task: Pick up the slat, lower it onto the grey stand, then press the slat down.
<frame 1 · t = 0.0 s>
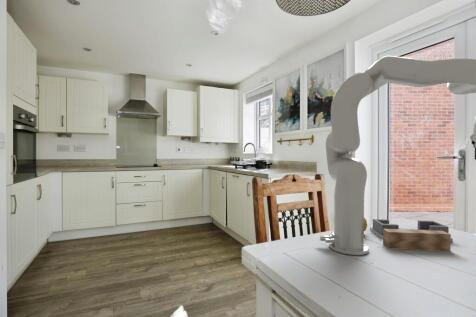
grey stand: (408, 235, 102), on the table
lemon: (359, 234, 104), on the table
slat: (415, 248, 89), on the table
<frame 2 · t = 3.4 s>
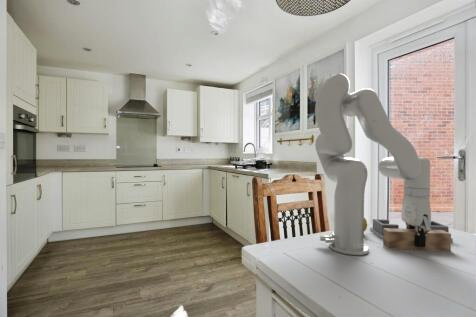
hand: (416, 243, 89), 1 cm above the table, tool pointing down, fingers closed on slat, 4 cm apart
slat: (415, 247, 89), on the table, touching gripper
everything else where it was.
when the fingers open (4 cm above the table, at t = 9.0 s): slat stays where it is, resting on grey stand.
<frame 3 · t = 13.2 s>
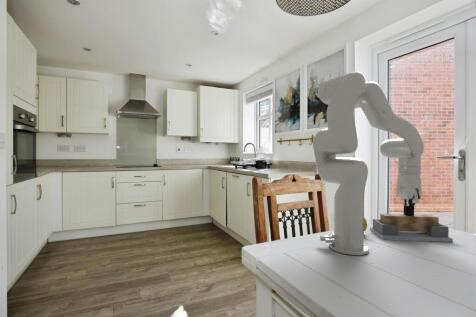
hand: (408, 215, 102), 8 cm above the table, tool pointing down, fingers closed
slat: (408, 230, 102), point 2 cm above the table, touching grey stand, gripper
everything else where it was.
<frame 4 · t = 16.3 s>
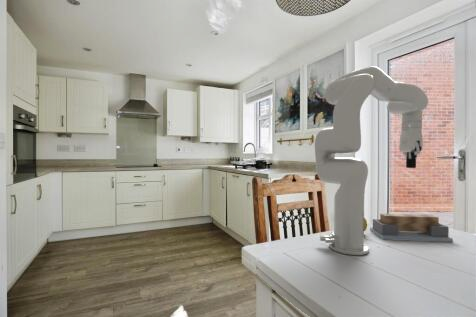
hand: (410, 167, 111), 27 cm above the table, tool pointing down, fingers closed
slat: (408, 230, 102), point 2 cm above the table, touching grey stand
everything else where it was.
at the end: slat 0.0 cm off-centre on the grey stand, point 2.2 cm above the grey stand's base; slat tilted 0°; the gripper is holding nothing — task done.
